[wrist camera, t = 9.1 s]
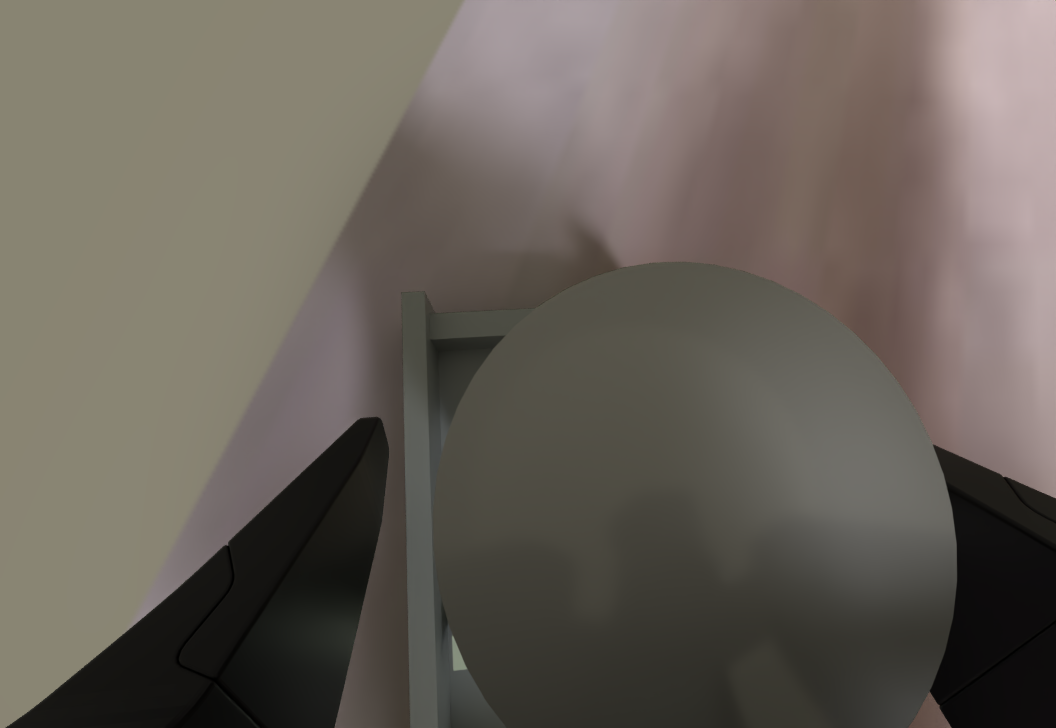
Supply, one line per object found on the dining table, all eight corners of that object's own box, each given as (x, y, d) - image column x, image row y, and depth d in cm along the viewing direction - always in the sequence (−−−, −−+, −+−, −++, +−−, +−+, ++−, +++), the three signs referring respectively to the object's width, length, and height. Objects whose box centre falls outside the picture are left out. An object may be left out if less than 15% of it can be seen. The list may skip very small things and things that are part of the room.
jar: (614, 551, 17) (979, 860, 4) (471, 532, 17) (380, 795, 4) (626, 408, 18) (939, 299, 5) (493, 389, 18) (479, 228, 5)
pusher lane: (731, 848, 16) (824, 1010, 11) (424, 895, 15) (391, 1091, 10) (657, 309, 19) (704, 267, 15) (410, 322, 19) (382, 282, 14)
